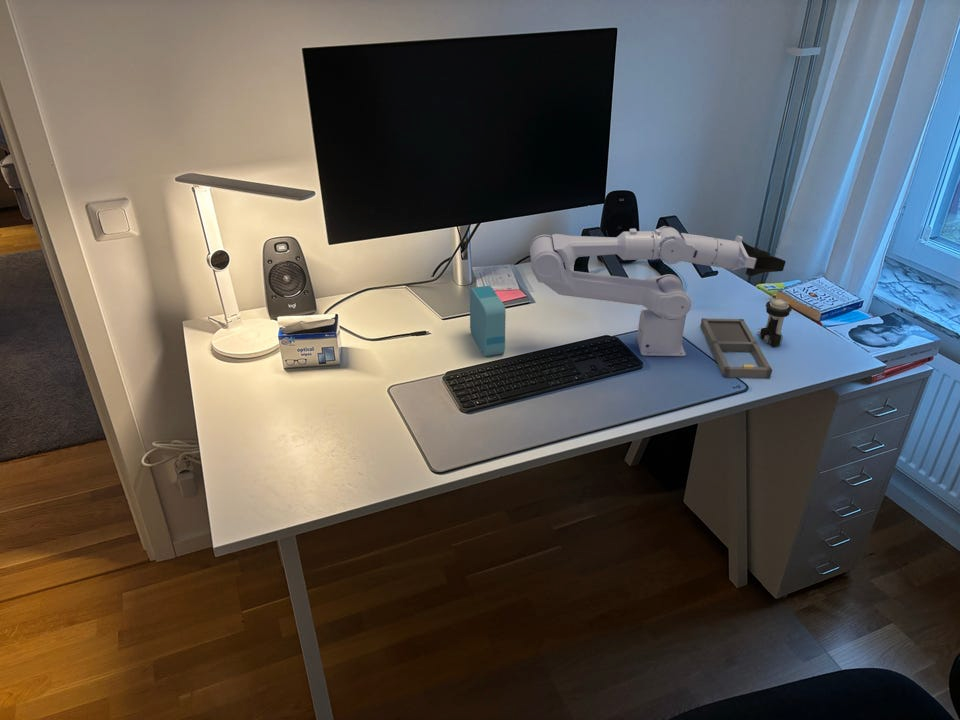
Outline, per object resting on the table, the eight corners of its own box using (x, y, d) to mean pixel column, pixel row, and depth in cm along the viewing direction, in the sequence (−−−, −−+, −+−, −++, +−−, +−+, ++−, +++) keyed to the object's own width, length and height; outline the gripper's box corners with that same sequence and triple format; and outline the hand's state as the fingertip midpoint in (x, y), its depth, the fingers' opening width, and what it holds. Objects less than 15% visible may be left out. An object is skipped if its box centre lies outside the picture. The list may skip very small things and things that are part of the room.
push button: (748, 336, 166) (757, 296, 161) (767, 331, 168) (776, 292, 163) (769, 349, 161) (779, 309, 156) (788, 345, 163) (798, 304, 157)
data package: (505, 356, 159) (506, 306, 152) (485, 359, 158) (485, 309, 151) (488, 330, 168) (489, 282, 162) (469, 333, 167) (469, 285, 161)
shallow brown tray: (723, 377, 151) (725, 366, 150) (700, 326, 170) (702, 316, 169) (770, 378, 151) (772, 367, 150) (741, 326, 170) (743, 316, 169)
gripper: (729, 238, 142) (796, 249, 143) (706, 227, 155) (767, 236, 156) (720, 274, 144) (786, 284, 145) (697, 259, 158) (758, 269, 159)
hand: (776, 261), depth 151 cm, fingers open, 7 cm apart
